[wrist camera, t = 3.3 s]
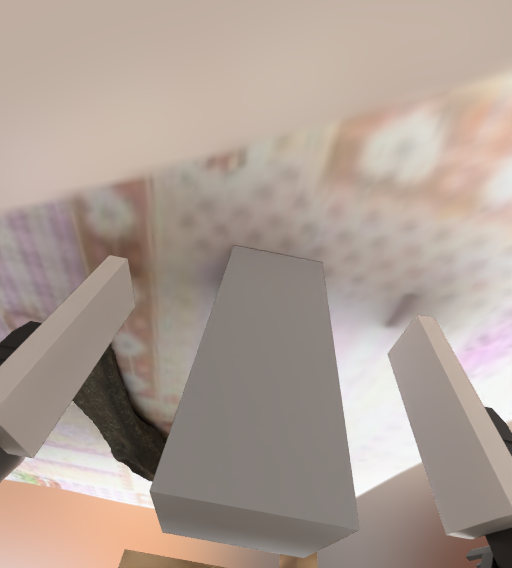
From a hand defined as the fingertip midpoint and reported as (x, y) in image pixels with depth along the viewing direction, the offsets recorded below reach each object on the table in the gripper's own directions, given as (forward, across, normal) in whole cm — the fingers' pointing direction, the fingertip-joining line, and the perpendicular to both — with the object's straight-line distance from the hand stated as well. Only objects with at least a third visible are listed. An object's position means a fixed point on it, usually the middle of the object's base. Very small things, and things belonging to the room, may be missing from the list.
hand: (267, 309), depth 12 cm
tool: (+2, -10, -17) cm, 20 cm away
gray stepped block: (+1, 0, -7) cm, 7 cm away
